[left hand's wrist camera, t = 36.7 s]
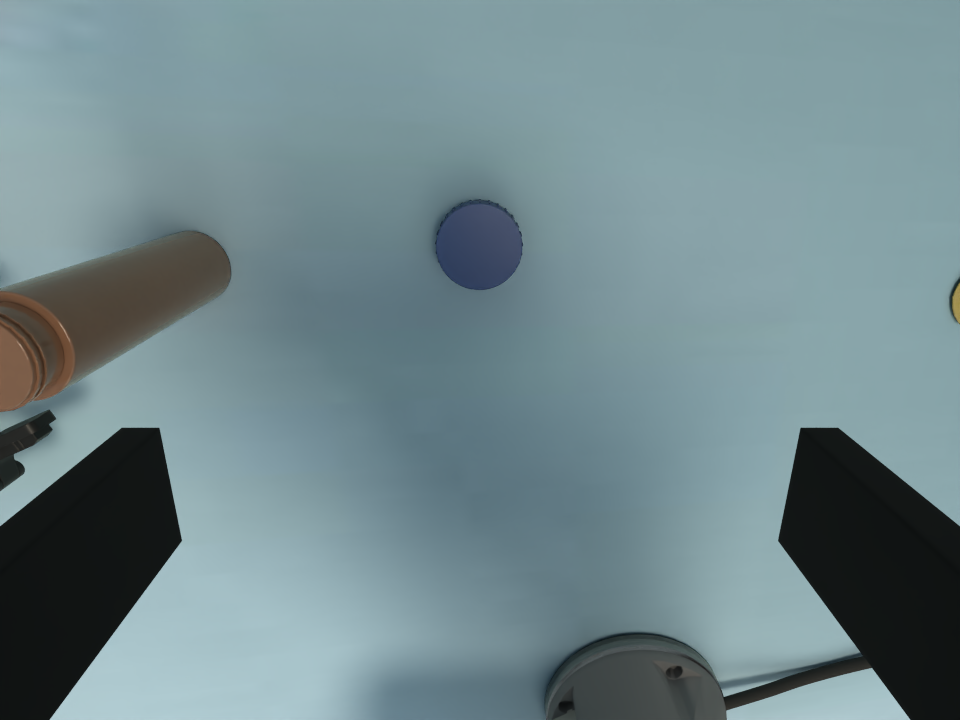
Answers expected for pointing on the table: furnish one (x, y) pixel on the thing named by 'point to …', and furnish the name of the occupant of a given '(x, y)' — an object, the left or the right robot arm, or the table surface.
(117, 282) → the tan cylinder
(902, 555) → the left robot arm
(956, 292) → the yellow wrench
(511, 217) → the lid
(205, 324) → the table surface
